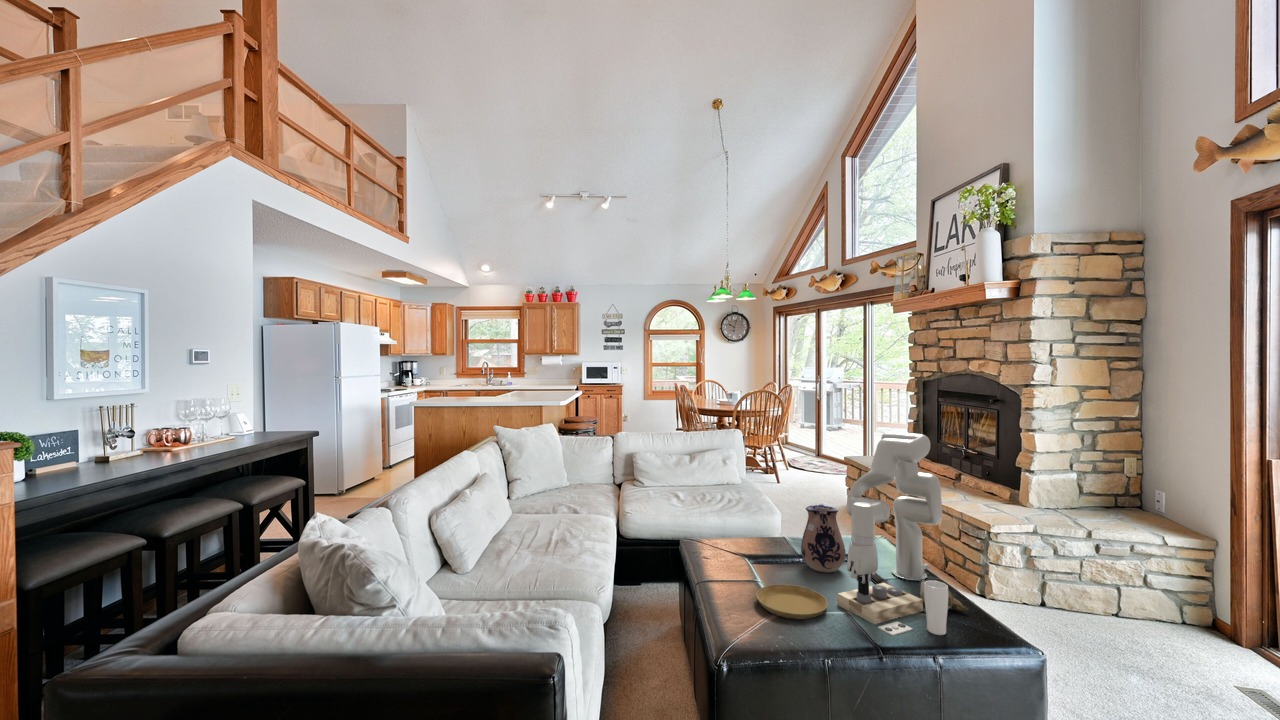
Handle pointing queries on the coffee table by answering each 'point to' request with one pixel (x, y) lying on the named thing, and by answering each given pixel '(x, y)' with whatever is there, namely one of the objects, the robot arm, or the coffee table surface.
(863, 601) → the button
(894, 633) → the pattern card
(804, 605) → the plant saucer
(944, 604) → the drinking glass
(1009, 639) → the coffee table surface
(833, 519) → the ceramic pitcher
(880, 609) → the button board
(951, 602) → the ceramic sculpture
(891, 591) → the button
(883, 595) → the middle button
